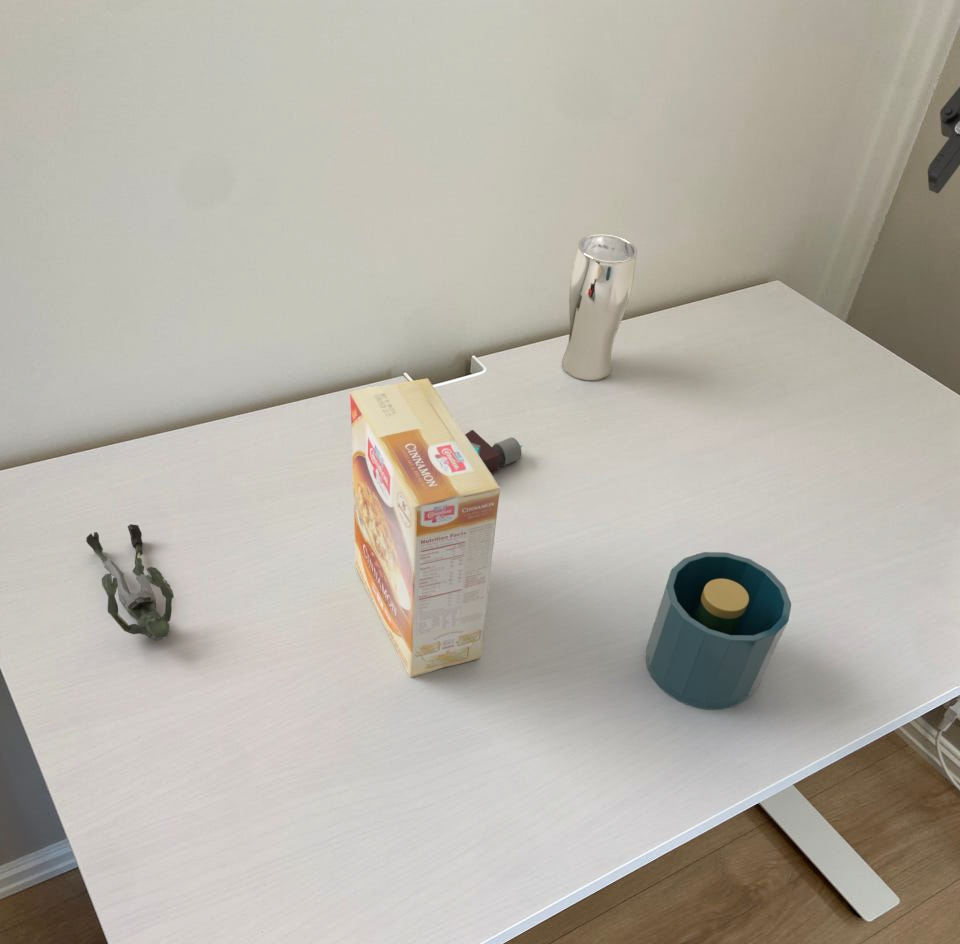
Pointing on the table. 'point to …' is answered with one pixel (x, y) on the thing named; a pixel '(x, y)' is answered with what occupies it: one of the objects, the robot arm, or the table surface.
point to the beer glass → (597, 303)
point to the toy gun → (495, 451)
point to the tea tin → (722, 605)
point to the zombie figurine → (137, 603)
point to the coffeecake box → (422, 523)
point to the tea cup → (715, 633)
